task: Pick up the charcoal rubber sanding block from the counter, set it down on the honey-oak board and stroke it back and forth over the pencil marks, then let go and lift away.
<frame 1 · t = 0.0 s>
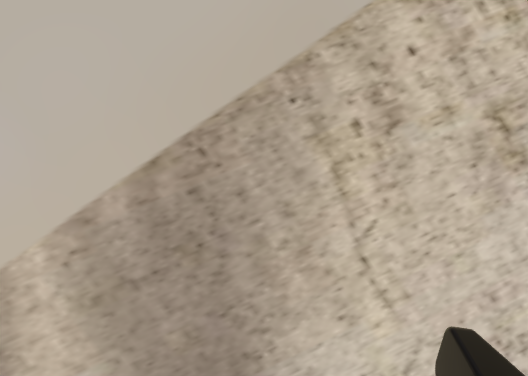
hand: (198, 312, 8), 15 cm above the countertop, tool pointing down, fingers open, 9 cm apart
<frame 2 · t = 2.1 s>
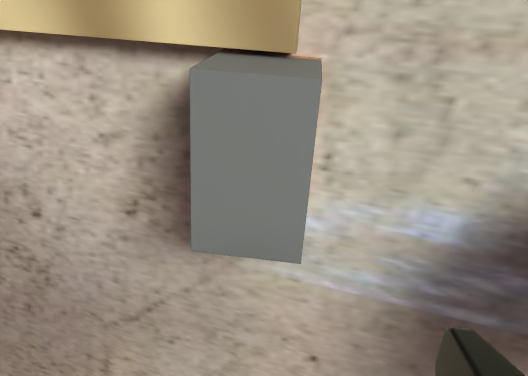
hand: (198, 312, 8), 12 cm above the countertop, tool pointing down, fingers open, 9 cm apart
sanding block: (266, 131, 19), on the countertop
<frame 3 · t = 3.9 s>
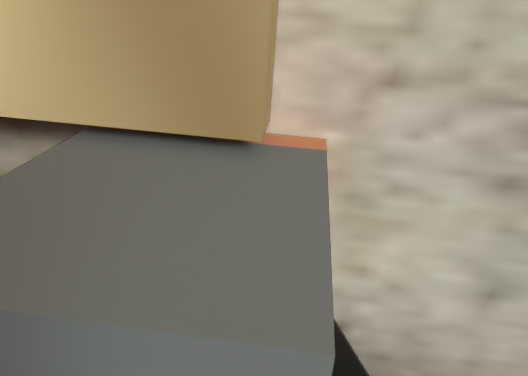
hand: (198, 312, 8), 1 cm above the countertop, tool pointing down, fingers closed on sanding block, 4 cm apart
sanding block: (210, 278, 9), on the countertop, touching gripper
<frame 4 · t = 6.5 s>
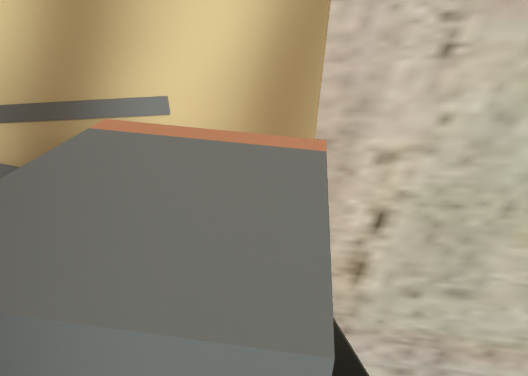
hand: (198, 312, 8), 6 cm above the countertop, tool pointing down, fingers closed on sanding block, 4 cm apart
board: (94, 163, 14), on the countertop
sanding block: (210, 279, 9), point 5 cm above the countertop, touching gripper
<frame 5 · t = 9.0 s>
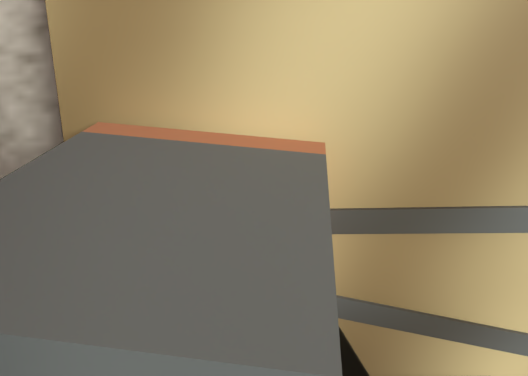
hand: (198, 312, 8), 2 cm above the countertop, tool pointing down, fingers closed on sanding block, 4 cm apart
board: (403, 275, 10), on the countertop
sanding block: (207, 285, 9), point 1 cm above the countertop, touching gripper
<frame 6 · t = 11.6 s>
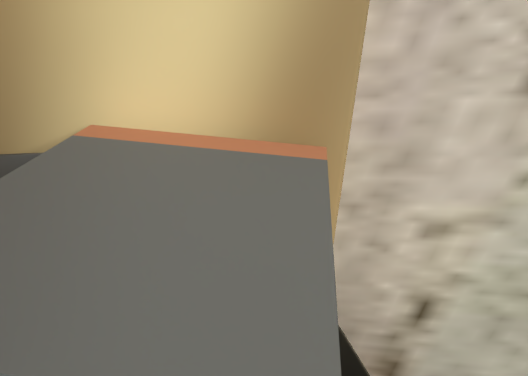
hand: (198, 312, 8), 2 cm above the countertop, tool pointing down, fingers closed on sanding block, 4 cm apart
board: (31, 229, 10), on the countertop
sanding block: (205, 292, 9), point 2 cm above the countertop, touching gripper
when the fingers open (2 cm above the countertop, at t = 14.0 s): sanding block stays where it is, resting on board.
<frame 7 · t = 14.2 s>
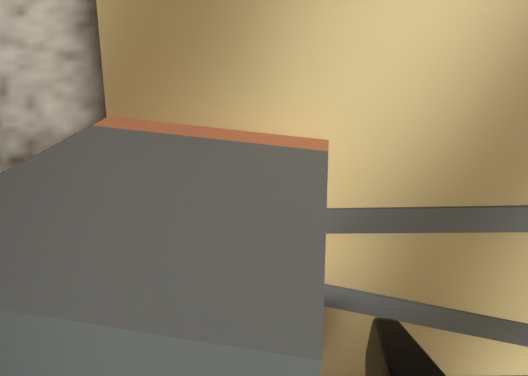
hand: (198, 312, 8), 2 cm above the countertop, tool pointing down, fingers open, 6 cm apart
board: (441, 274, 10), on the countertop
sanding block: (212, 279, 9), point 1 cm above the countertop, touching board
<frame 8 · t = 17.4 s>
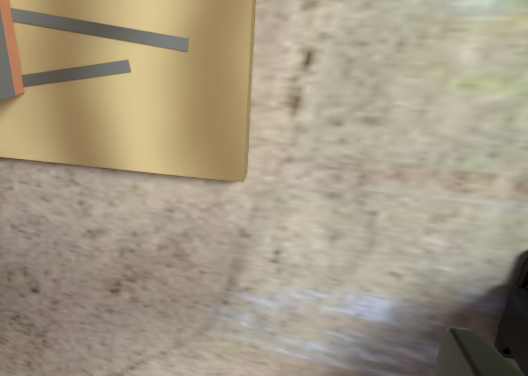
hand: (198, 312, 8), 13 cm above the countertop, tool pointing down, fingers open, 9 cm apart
board: (95, 18, 19), on the countertop
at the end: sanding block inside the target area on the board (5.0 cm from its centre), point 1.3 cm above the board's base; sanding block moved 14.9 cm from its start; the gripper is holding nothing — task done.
